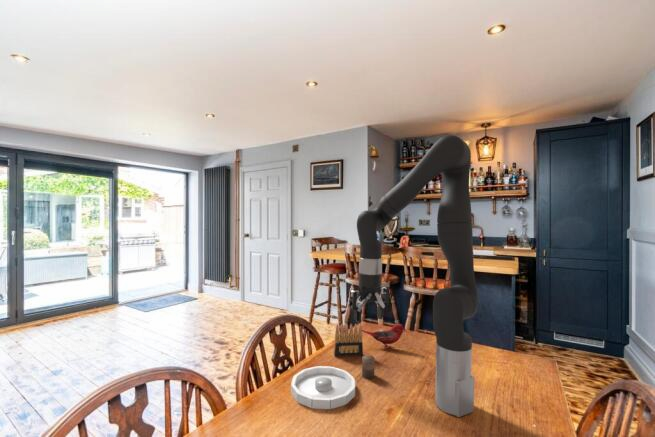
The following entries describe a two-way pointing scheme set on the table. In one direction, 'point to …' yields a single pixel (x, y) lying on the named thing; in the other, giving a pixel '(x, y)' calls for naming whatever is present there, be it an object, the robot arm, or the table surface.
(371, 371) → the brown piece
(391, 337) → the decorative bird figurine
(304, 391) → the ring tray
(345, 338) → the ammunition clip
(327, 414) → the table surface
